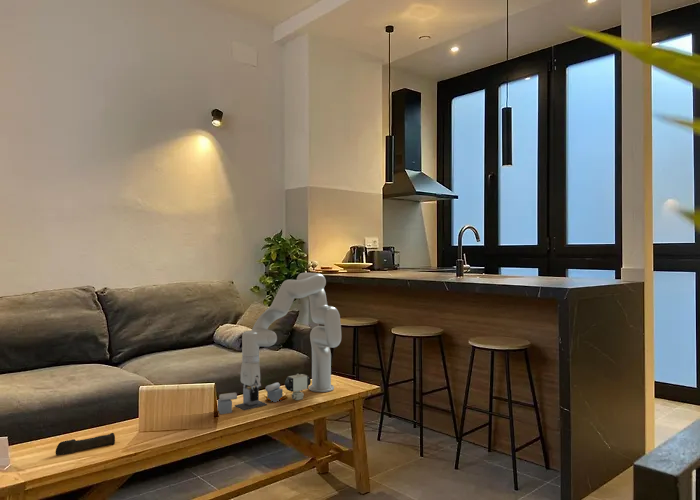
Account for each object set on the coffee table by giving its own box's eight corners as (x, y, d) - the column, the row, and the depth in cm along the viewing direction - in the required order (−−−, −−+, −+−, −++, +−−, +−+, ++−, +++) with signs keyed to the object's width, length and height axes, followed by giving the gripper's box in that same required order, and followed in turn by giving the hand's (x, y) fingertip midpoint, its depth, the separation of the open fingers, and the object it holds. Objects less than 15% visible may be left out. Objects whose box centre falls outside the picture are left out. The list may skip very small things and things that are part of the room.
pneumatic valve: (310, 398, 250) (310, 372, 249) (289, 402, 242) (289, 376, 242) (304, 395, 254) (304, 370, 254) (283, 399, 247) (283, 374, 247)
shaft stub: (234, 408, 234) (234, 391, 234) (237, 411, 229) (237, 393, 229) (217, 411, 230) (217, 393, 230) (220, 414, 226) (220, 396, 226)
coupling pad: (257, 401, 245) (257, 399, 245) (267, 405, 239) (267, 403, 239) (234, 406, 237) (234, 405, 237) (243, 410, 231) (243, 409, 231)
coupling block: (252, 400, 241) (252, 384, 241) (258, 403, 238) (258, 386, 238) (243, 403, 238) (243, 386, 238) (249, 405, 234) (249, 388, 234)
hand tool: (113, 442, 195) (113, 429, 195) (115, 445, 191) (115, 432, 191) (54, 454, 184) (54, 440, 184) (56, 457, 180) (56, 444, 180)
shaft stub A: (274, 397, 250) (274, 381, 250) (282, 399, 247) (282, 382, 247) (263, 401, 244) (263, 385, 244) (271, 403, 241) (271, 386, 241)
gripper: (233, 357, 242) (233, 396, 242) (253, 363, 229) (254, 405, 229) (247, 354, 247) (248, 393, 247) (268, 360, 234) (268, 401, 234)
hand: (251, 398), depth 238 cm, fingers open, 5 cm apart
